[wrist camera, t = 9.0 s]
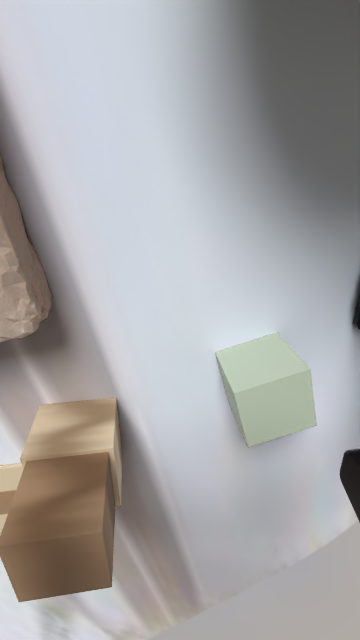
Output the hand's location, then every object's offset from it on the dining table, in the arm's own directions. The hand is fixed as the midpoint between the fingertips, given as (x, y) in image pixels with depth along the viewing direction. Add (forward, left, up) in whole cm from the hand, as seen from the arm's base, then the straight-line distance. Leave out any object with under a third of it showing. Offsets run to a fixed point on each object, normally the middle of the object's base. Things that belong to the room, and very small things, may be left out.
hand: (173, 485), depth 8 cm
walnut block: (+5, +10, -8) cm, 14 cm away
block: (-7, +6, -13) cm, 16 cm away
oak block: (+5, +10, -13) cm, 17 cm away
